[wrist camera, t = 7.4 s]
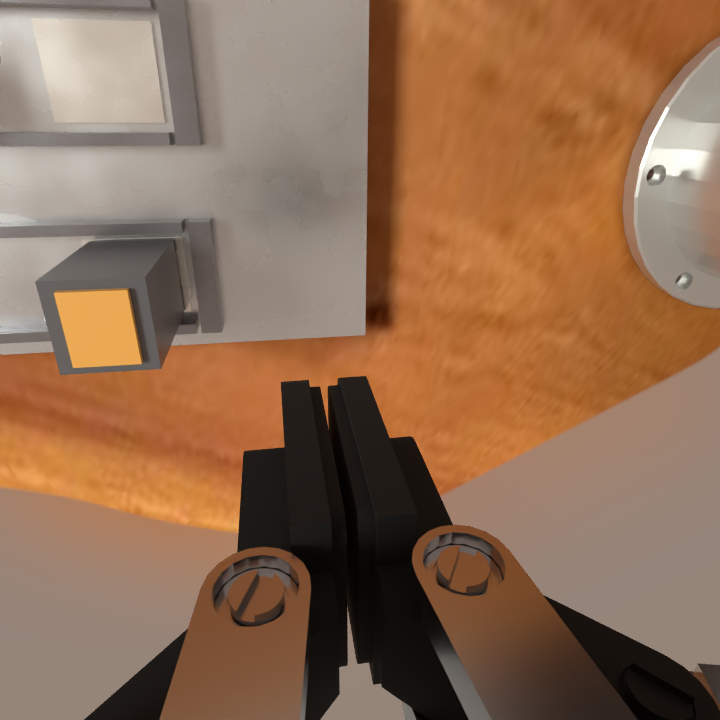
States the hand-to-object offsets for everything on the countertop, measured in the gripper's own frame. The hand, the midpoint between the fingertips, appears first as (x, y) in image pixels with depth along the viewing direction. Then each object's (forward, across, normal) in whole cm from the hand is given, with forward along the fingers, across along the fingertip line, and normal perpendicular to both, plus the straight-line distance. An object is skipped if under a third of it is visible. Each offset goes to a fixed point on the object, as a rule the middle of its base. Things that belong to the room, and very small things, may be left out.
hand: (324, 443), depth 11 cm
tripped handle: (+12, +6, 0) cm, 13 cm away
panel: (+14, +8, -4) cm, 16 cm away
